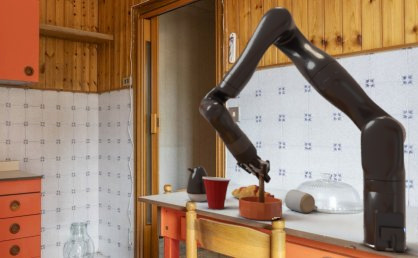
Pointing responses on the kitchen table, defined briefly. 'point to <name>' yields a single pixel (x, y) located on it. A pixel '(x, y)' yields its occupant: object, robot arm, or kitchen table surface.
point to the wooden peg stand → (261, 189)
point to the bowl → (260, 208)
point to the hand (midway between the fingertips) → (265, 180)
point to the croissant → (249, 192)
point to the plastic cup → (216, 191)
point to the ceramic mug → (300, 201)
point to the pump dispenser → (196, 184)
